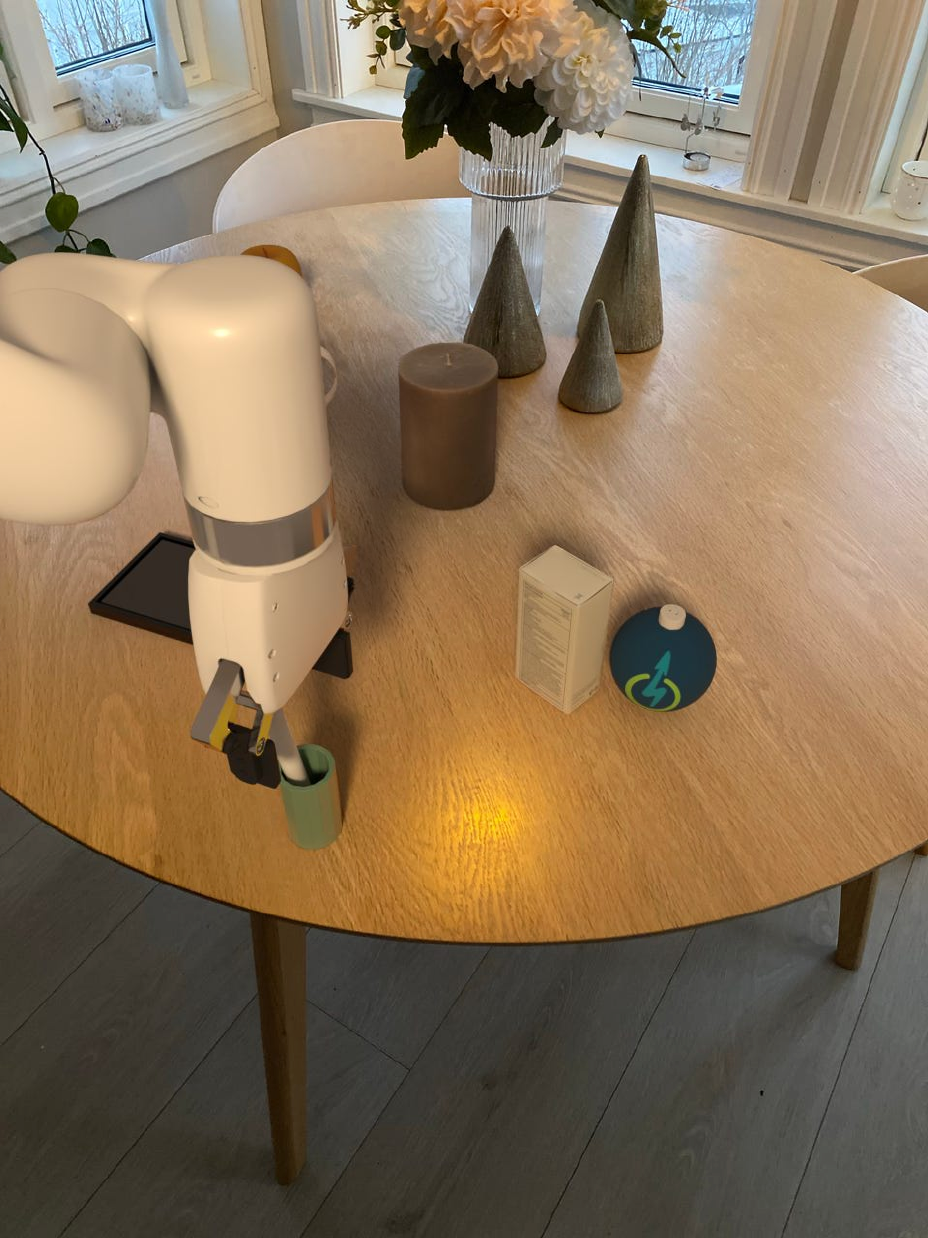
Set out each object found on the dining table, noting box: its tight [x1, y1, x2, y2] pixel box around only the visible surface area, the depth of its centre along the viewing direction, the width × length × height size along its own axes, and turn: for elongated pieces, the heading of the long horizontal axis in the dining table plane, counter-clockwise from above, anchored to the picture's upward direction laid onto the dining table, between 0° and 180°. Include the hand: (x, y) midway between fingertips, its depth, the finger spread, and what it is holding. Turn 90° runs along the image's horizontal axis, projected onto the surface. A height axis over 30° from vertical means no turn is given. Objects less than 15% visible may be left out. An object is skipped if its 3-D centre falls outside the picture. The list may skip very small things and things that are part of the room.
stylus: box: [268, 707, 311, 787], centre depth 65 cm, size 1×1×14 cm
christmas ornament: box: [609, 603, 718, 713], centre depth 76 cm, size 8×8×10 cm
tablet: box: [87, 531, 195, 646], centre depth 87 cm, size 16×11×1 cm
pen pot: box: [277, 743, 343, 851], centre depth 67 cm, size 4×4×7 cm
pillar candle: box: [397, 341, 499, 512], centre depth 95 cm, size 10×10×15 cm
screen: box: [101, 540, 196, 631], centre depth 86 cm, size 14×9×1 cm, turn 69°
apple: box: [239, 244, 303, 278], centre depth 125 cm, size 8×8×9 cm
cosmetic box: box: [514, 544, 615, 716], centre depth 76 cm, size 6×4×12 cm
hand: (295, 722), depth 61 cm, fingers open, 9 cm apart
